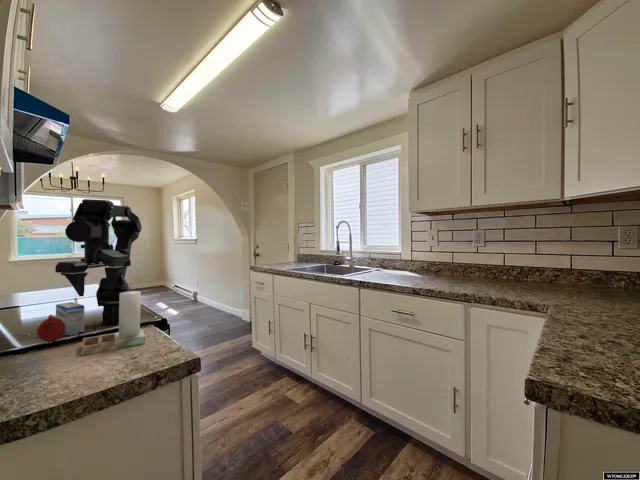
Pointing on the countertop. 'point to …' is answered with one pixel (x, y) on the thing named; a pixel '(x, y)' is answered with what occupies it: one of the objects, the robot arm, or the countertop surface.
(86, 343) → the board
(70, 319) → the medicine box
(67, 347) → the countertop surface
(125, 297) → the white cylinder
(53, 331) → the onion
